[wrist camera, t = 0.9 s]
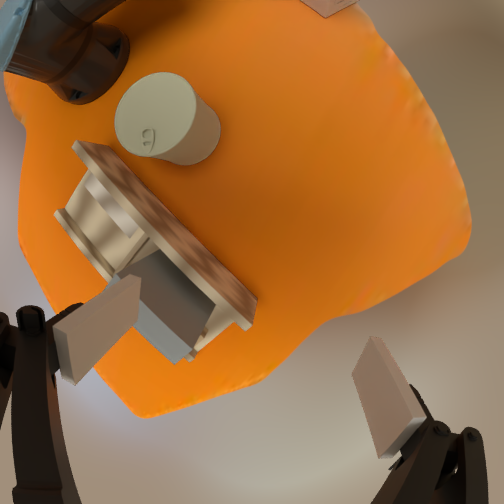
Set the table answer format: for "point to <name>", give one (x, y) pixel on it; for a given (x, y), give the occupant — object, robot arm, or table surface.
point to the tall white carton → (328, 6)
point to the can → (166, 120)
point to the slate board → (168, 305)
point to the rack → (145, 236)
